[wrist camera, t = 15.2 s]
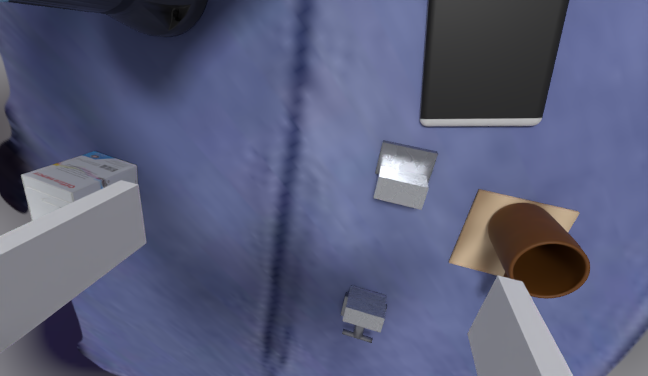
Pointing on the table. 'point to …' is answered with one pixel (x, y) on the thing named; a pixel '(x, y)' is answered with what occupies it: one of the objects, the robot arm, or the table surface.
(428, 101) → the smartphone
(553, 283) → the mug
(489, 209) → the coaster
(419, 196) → the grey angular pieces
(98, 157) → the ink box
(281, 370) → the table surface
